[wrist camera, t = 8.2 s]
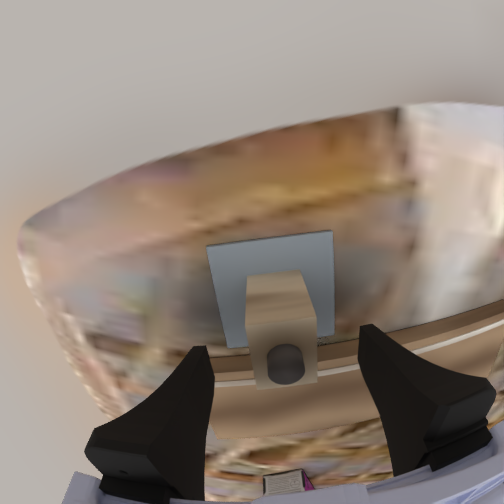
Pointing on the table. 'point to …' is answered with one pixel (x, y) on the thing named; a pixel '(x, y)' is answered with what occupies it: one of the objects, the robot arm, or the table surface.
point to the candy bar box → (286, 483)
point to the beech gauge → (281, 330)
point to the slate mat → (269, 261)
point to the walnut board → (346, 378)
